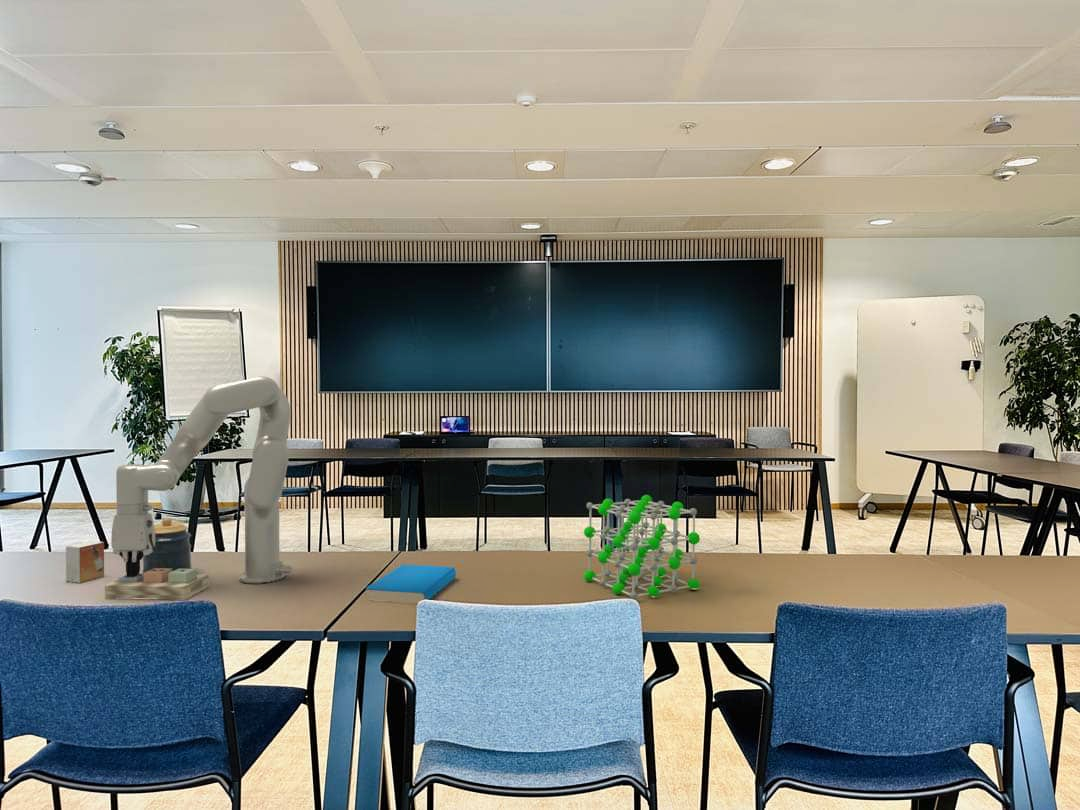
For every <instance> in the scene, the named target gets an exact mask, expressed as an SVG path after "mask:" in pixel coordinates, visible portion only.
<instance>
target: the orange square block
mask: <svg viewBox="0 0 1080 810" xmlns="http://www.w3.org/2000/svg"><path fill="white" fill-rule="evenodd" d="M170 572H172V568H154V569H152V570H149V571H147V572H144V583H163V582H165V581H167V580H168V573H170Z"/></svg>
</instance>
